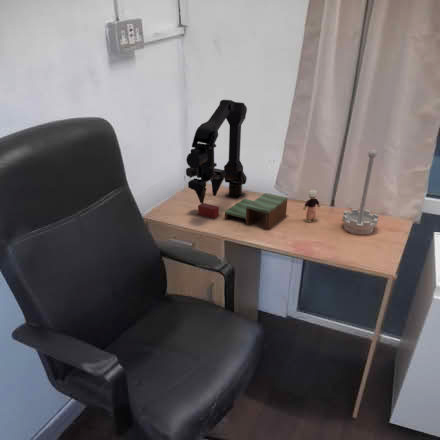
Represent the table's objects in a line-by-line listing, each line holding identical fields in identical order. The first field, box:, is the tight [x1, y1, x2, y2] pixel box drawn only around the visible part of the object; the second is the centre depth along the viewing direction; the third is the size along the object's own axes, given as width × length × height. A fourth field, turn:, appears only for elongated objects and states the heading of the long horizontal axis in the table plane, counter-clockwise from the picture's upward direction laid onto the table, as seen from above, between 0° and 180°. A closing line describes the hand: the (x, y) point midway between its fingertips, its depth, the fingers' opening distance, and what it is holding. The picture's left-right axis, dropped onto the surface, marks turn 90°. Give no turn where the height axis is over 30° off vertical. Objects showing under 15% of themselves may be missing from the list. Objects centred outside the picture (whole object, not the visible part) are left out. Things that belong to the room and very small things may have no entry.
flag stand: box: [341, 149, 379, 236], centre depth 154 cm, size 13×13×30 cm
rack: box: [224, 192, 288, 231], centre depth 170 cm, size 16×20×8 cm
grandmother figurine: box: [302, 189, 321, 223], centre depth 165 cm, size 8×4×13 cm, turn 126°
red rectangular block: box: [197, 202, 220, 219], centre depth 173 cm, size 4×8×4 cm, turn 57°
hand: (208, 199), depth 171 cm, fingers open, 9 cm apart
